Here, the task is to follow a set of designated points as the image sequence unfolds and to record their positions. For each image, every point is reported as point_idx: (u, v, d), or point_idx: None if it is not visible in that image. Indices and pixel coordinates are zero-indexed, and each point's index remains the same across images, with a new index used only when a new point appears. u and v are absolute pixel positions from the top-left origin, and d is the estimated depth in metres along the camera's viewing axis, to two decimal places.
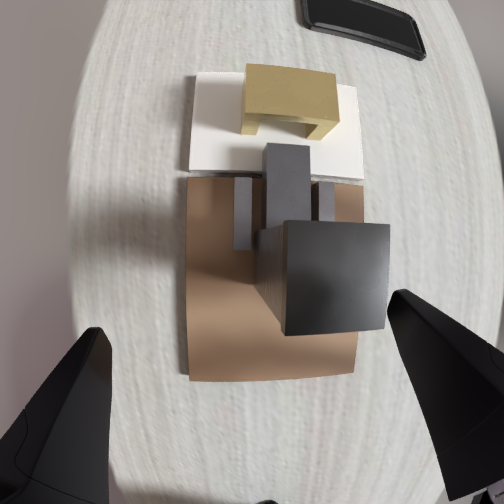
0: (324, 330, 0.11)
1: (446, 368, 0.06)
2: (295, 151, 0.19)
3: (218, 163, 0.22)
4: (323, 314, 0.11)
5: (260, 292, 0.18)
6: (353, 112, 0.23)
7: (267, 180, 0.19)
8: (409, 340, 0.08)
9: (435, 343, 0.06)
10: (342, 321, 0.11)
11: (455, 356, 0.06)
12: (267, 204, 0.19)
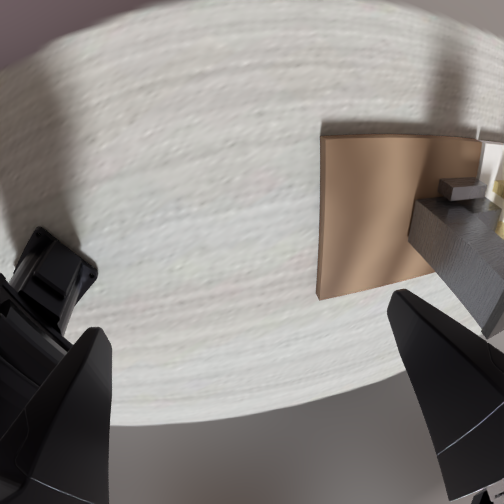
0: None
1: (446, 368, 0.06)
2: (494, 227, 0.21)
3: (485, 165, 0.20)
4: None
5: (447, 223, 0.18)
6: None
7: (486, 211, 0.20)
8: (409, 339, 0.08)
9: (435, 343, 0.06)
10: (503, 316, 0.13)
11: (454, 356, 0.06)
12: (477, 213, 0.20)
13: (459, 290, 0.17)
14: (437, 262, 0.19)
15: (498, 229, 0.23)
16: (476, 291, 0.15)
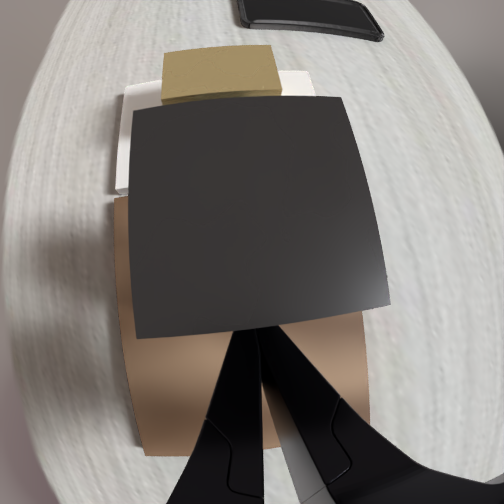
0: (232, 321, 0.04)
1: (283, 417, 0.06)
2: None
3: None
4: (220, 280, 0.05)
5: None
6: None
7: None
8: (262, 372, 0.07)
9: (272, 384, 0.06)
10: (276, 295, 0.05)
11: (290, 405, 0.05)
12: None
13: None
14: None
15: None
16: None
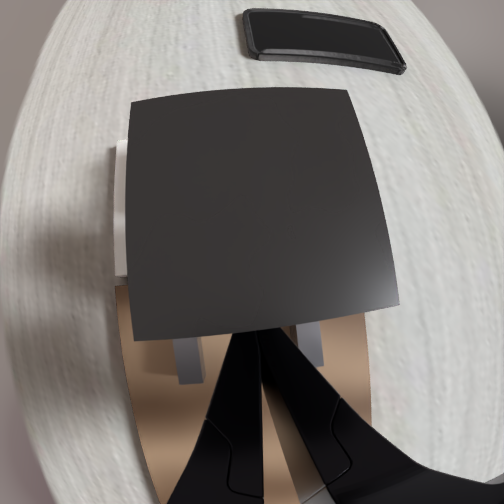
0: (235, 323, 0.04)
1: (283, 417, 0.06)
2: None
3: None
4: (221, 279, 0.04)
5: None
6: None
7: None
8: (262, 372, 0.07)
9: (272, 384, 0.06)
10: (281, 295, 0.04)
11: (290, 405, 0.05)
12: None
13: None
14: None
15: None
16: None
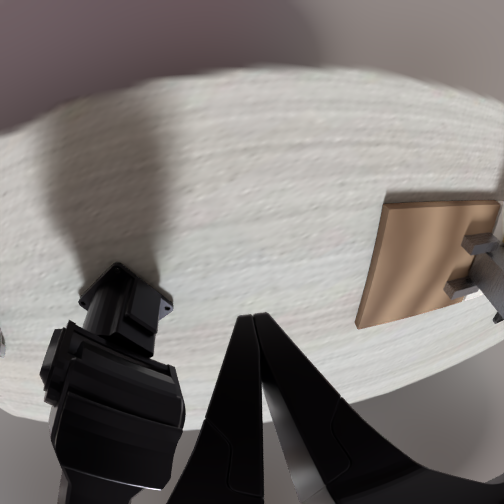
0: None
1: (283, 416, 0.06)
2: None
3: (499, 222, 0.24)
4: None
5: (501, 267, 0.22)
6: None
7: None
8: (262, 372, 0.07)
9: (273, 384, 0.06)
10: None
11: (290, 405, 0.05)
12: None
13: None
14: (491, 293, 0.23)
15: None
16: None
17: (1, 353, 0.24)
